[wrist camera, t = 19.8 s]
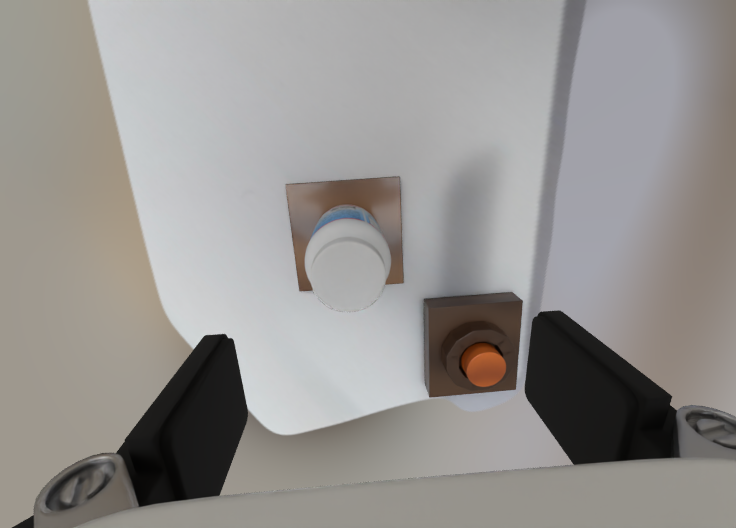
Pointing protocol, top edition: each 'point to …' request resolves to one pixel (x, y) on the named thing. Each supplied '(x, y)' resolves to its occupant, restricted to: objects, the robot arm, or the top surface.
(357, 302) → the pill bottle
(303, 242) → the coaster
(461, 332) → the button housing
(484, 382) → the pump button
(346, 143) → the top surface
